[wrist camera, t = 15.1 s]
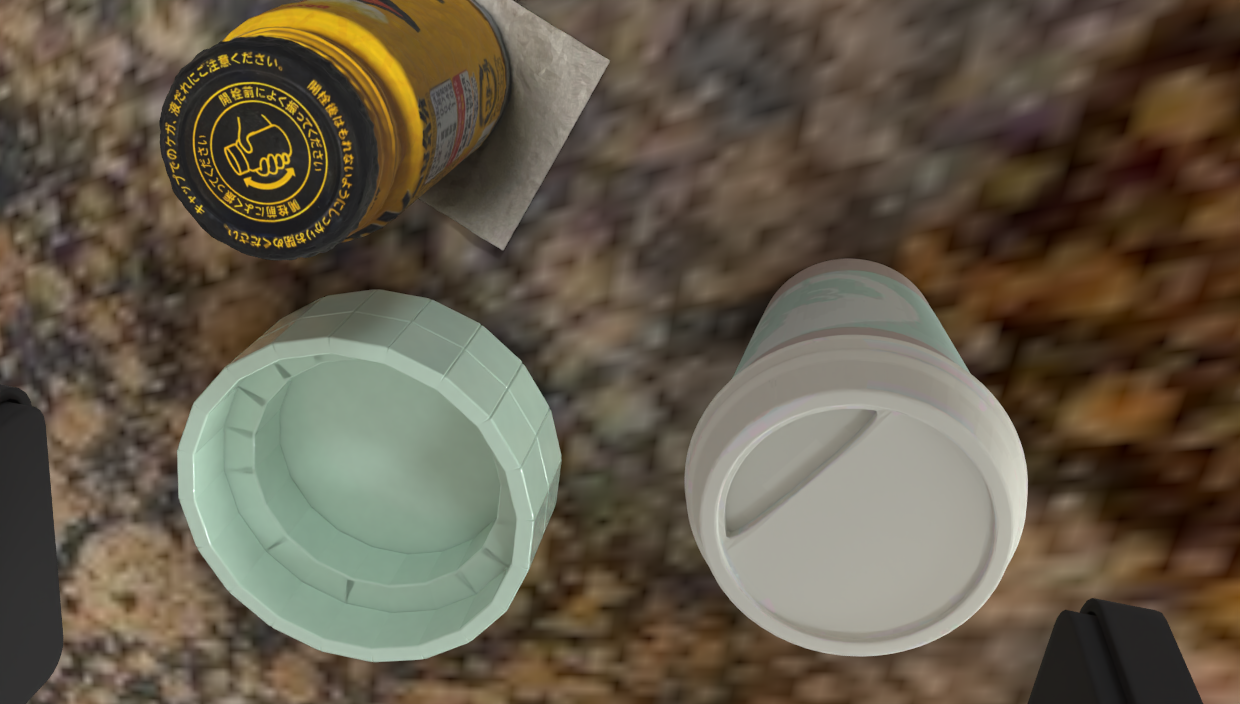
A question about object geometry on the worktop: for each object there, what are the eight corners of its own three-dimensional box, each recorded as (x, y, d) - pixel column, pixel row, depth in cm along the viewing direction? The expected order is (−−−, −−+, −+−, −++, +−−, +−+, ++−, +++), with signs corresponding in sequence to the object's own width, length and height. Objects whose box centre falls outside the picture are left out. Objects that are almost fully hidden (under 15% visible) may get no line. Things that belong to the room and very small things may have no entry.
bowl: (243, 257, 42) (172, 307, 37) (581, 318, 40) (550, 378, 36) (244, 547, 47) (181, 622, 42) (546, 608, 45) (514, 693, 41)
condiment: (374, -87, 36) (179, -59, 25) (611, 60, 37) (519, 148, 26) (285, 115, 39) (77, 217, 28) (505, 247, 40) (384, 397, 29)
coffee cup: (955, 189, 37) (1008, 333, 26) (1000, 431, 40) (1065, 652, 29) (689, 248, 39) (636, 404, 28) (750, 474, 42) (723, 694, 31)
